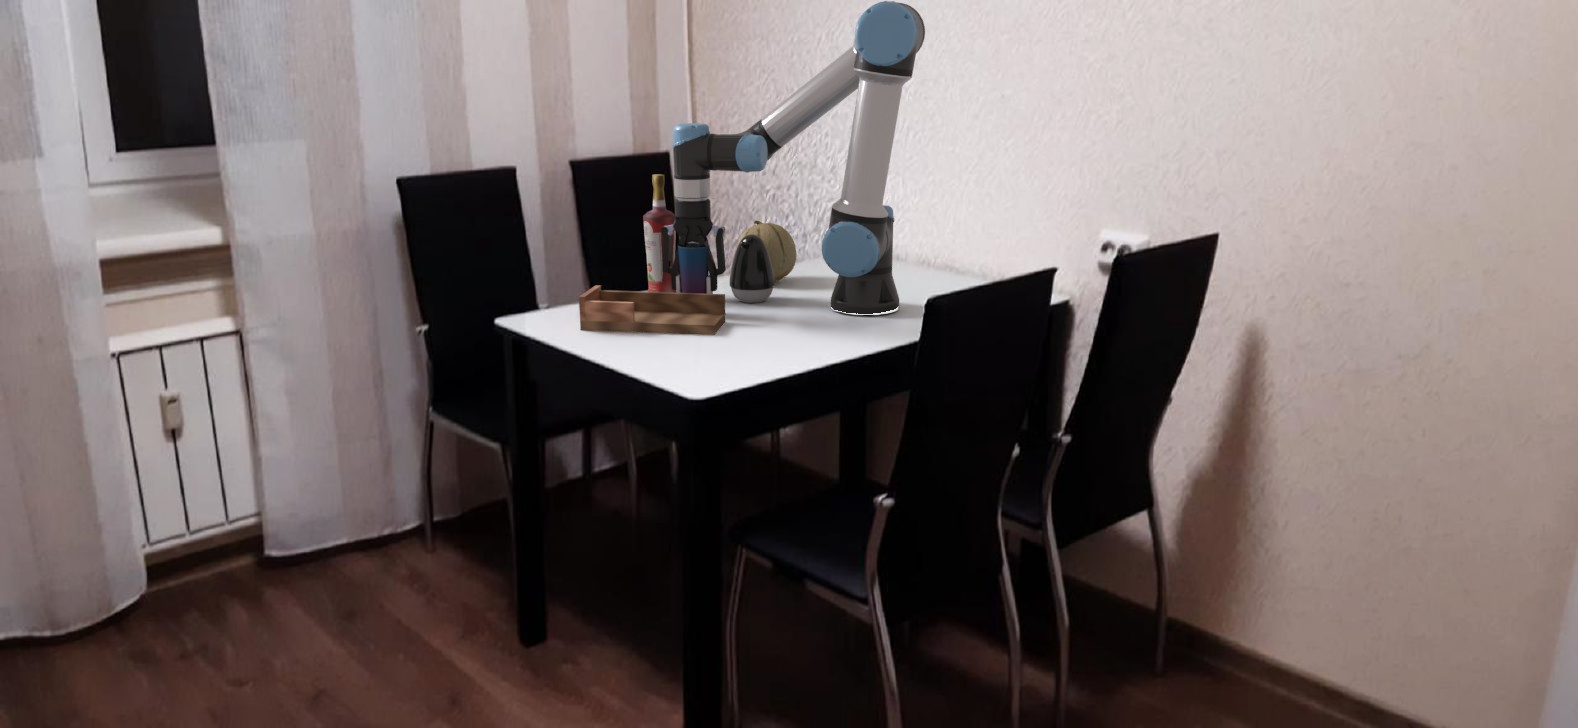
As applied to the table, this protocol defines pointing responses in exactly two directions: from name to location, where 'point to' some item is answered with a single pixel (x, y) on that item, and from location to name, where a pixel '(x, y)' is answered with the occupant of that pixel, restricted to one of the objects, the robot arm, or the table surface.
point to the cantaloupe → (776, 246)
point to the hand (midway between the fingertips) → (695, 305)
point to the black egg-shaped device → (752, 271)
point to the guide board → (651, 312)
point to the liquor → (658, 239)
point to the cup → (693, 268)
